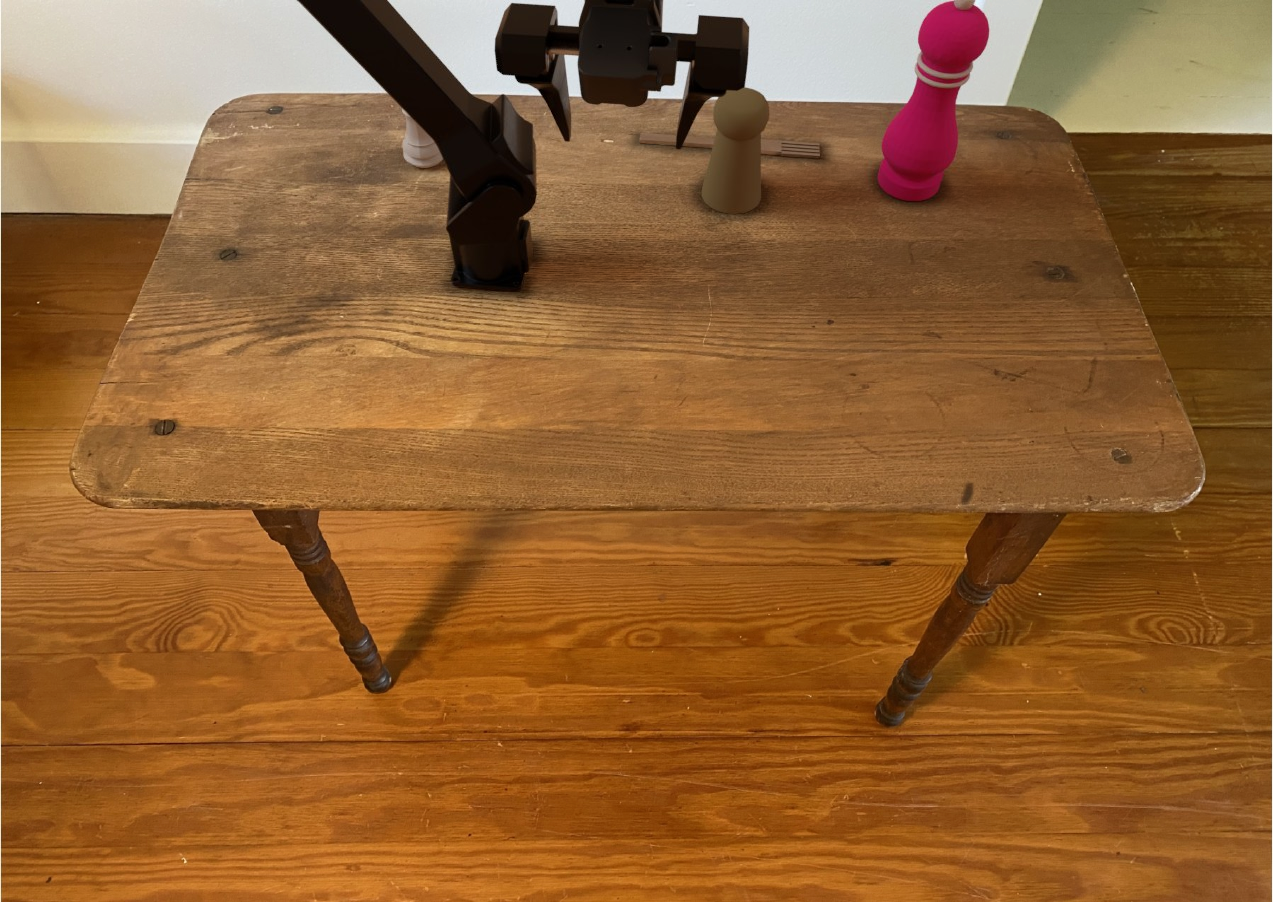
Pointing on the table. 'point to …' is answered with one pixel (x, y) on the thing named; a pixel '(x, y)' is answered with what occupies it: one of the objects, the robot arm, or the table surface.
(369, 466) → the table surface
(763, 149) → the fork
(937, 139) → the pepper mill
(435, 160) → the rook chess piece
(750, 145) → the tan cone-shaped piece
